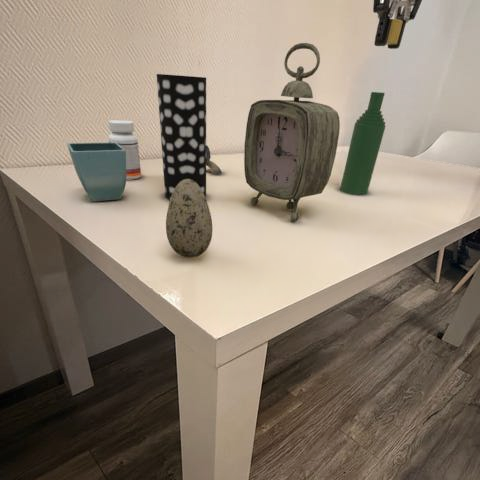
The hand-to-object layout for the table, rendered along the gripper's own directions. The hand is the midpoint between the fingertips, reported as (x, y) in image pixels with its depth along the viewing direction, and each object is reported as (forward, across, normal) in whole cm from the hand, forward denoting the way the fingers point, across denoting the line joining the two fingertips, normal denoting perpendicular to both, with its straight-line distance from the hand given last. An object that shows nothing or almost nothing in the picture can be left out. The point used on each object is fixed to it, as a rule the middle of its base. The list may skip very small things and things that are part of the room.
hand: (386, 46), depth 64 cm
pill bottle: (+27, +42, -33) cm, 60 cm away
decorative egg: (+27, +51, +11) cm, 59 cm away
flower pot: (+27, +52, -20) cm, 62 cm away
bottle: (+27, -1, 0) cm, 27 cm away
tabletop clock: (+27, +26, +3) cm, 38 cm away
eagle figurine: (+27, +21, -31) cm, 46 cm away
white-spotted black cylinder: (+27, +38, -13) cm, 48 cm away
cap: (0, 0, 0) cm, 1 cm away
